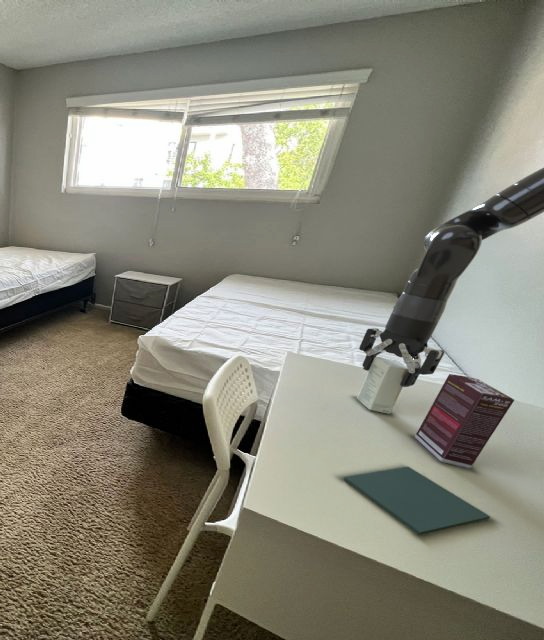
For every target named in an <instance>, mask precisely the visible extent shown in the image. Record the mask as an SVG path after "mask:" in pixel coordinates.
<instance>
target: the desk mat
mask: <svg viewBox="0 0 544 640" xmlns="http://www.w3.org/2000/svg"><path fill="white" fill-rule="evenodd" d="M343 481H345V482H346V483H348V484H349V485H350V486H352V487H353V488H354V489H355V490H357V491H359V492H360V493H361V494H362V495H364V496H365V497H366V498H368V499H369V500H370V501H372V502H373V503H374V504H376V505H377V506H379V507H380V508H382V510H384V511H385V512H387V513H388V514H389V515H391V516H392V517H394V518H395V519H396V520H397V521H399V522H400V523H402V524H403V525H405V527H407V528H408V529H410V530H411V531H412V532H413V533H415V534H417V535H418V536H421V535H425V534H430V533H433V532H439V531H443V530H447V529H451V528H456V527H460V526H464V525H468V524H473V523H478V522H481V521H486V520H489V519H490V518H491V516H490V515H489V514H488V513H486V512H484V511H482V510H480V509H479V508H477V507H476V506H474V505H472V504H471V503H470V502H469V503H468V501H466V500H465V499H462V498H460V497H459V496H458V495H455V494H454V493H453V492H451V491H449V490H448V489H446V488H445V487H443V486H441V485H440V484H437V483H436V482H434V481H433V480H431V479H430V478H428V477H426V476H424V475H423V474H421V473H419V472H418V471H416V470H414V469H413V468H411V467H410V466H403V467H397V468H391V469H385V470H379V471H378V470H377V471H371V472H366V473H365V472H364V473H360V474H359V473H358V474H353V475H347V476H344V477H343Z"/></svg>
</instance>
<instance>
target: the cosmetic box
mask: <svg viewBox="0 0 544 640" xmlns="http://www.w3.org/2000/svg"><path fill="white" fill-rule="evenodd" d="M406 372H409V371H408V368H407V365H405V364H403V363H402V362H399V361H398V360H396V359H392V358H387V357H382V356H376V357H374V360H373V362H372V364H371V367H370V369H369V371H367V374H366V375H365V379H364V380H363V382H362V386H361V387H360V390H359V392H358V394H357V397H356V399H357V400H358V401H359V402H360V403H361V404H362V405H364V407H366V408H367V409H368V410H369V411H373V412H378V413H384V414H388V415H390V414H391V413H392V410H393V408H394V406H395V405H396V402H397V400H398V398H399V396H400V394H401V392H402V390H403V388H404V387H403V386H401V385H400V384H401V382H402V380H403V378H404V376H405V374H406Z"/></svg>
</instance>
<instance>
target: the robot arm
mask: <svg viewBox="0 0 544 640" xmlns="http://www.w3.org/2000/svg"><path fill="white" fill-rule="evenodd" d="M542 214H544V167H542V168H540V169H538V170H536V171H534V172H533V173H531V174H529V175H527V176H525V177H523V178H521V179H520V180H518V181H516V182H515V183H513V184H512V185H509V186H508V187H506V188H505V189H503V190H501V191H499V192H498V193H496V194H495V195H493V196H491V197H490V198H488V199H487V200H485V201H483V202H482V203H481V204H479V205H477V206H475V207H473V208H470V209H469V210H467V211H464V212H463V213H461V214H459V215H457V216H455V217H453V218H451V219H449V220H447V221H445V222H444V223H442V224H440V225H439V226H437V227H435V228H434V229H432V230H431V231H429V232H428V233H427V235H426V236H425V237H424V239H423V243H422V245H423V248H424V250H425V254H424V256H423V258H422V260H421V262H420V265H419V266H418V268H416V269H415V270H414V271H413V272H412V273H411V275H410V276H409V278H408V280H407V282H406V284H405V286H404V288H403V291H402V293H401V295H400V296H399V297H398V299H397V301H396V302H395V304H394V306H393V308H392V311H391V314H390V315H389V318H388V320H387V322H386V324H385V326H384V327H385V329H384V330H383V331H382V330H380V329H379V328H376V327H375V328H373V327H372V328H367V329H366V331H365V334H364V336H363V338H362V340H361V343H360V345H359V346H358V349H359V351H361V352H364V353H365V358H364V360H363V362H362V365H361V366H362V370H363V371H366V372H368V371H369V369H370V367H371V364H372V362H373V360H374V357H378V356H379V355H381V354H383V353H385V352H386V353H388V354H392V355H395V356H396V357H399V358H402V360H403V362H404V364H406V365H405V366H406V367H407V368H408V371H409V372H406V374H405V376H404V378H403V380H402V382H401V384H400V385H401V386H403V387H402V388H409V387H412V386H414V385H415V384H416V381H417V380H418V378H419V376H420V375H422V376H425V375H433V374H435V372H436V370H437V368H438V366H439V364H440V363H441V360H442V359H443V357H444V356H445V350H443V349H435V348H432V347H429V345H428V342H429V340H430V339H431V337H432V335H433V334H434V332H435V330H436V328H437V326H438V324H439V322H440V320H441V318H442V316H443V314H444V312H445V310H446V307H447V303H448V301H449V299H450V297H451V295H452V293H453V291H454V289H455V287H456V285H457V282H458V281H459V278H460V277H461V276H462V275H463V273H464V272H465V271H466V270H467V268H468V267H469V266H470V265H471V263H472V262H473V260H474V259H475V257H476V256H477V254H478V252H479V251H480V248H481V247H482V246H481V245H482V242H483V241H484V240H486V239H488V238H489V237H492V236H493V235H496V234H497V233H499V232H502V231H506V230H509V229H513V228H515V227H518V226H520V225H523V224H525V223H527V222H529V221H531V220H532V219H534V218H536V217H538V216H540V215H542ZM379 338H380V343H378V344H377V345H374V344H375V342H376V340H377V339H379ZM423 352H424V356H425V359H424V361H423V363H422V358H421V356H420V354H421V353H423ZM421 363H422V364H421Z"/></svg>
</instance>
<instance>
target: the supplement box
mask: <svg viewBox="0 0 544 640" xmlns="http://www.w3.org/2000/svg"><path fill="white" fill-rule="evenodd" d="M514 402H515V399H514V398H512V397H511V396H509V395H507V394H505V393H503V392H502V391H500V390H498V389H497V388H494V387H493V386H491V385H489V384H488V383H485V382H484V381H482V380H480V379H479V378H475V377H468V376H464V375H459V374H453V373H448V375H447V377H446V379H445V381H444V382H443V384H442V386H441V388H440V390H439V392H438V394H437V395H436V397H435V399H434V401H433V402H432V405H430V407H429V410H428V412H427V414H426V415H425V417H424V419H423V421H422V422H421V425H420V427H419V428H418V430H417V432H416V433H415V435H414V438H415V439H416V440H417V441H418V442H419V443H420V444H421V445H422V446H424V447H425V449H427V450H428V451H429V452H430V453H431V454H432V455H433V456H434V457H435V458H437V459H438V460H439V462H440V463H441V462H442V463H445V464H449V465H452V466H455V467H461V468H466V469H471V468H472V467H473V465H474V464H475V462H476V461H477V459H478V457H479V456H480V454H481V453H482V451H483V450H484V448H485V446H486V445H487V444H488V442H489V440H490V439H491V437H492V436H493V434H494V432H495V431H496V430H497V428H498V427H499V425H500V423H501V422H502V420H503V419H504V417H505V415H506V414H507V413H508V411H509V410H510V408H511V406H512V405H513V403H514Z"/></svg>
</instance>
